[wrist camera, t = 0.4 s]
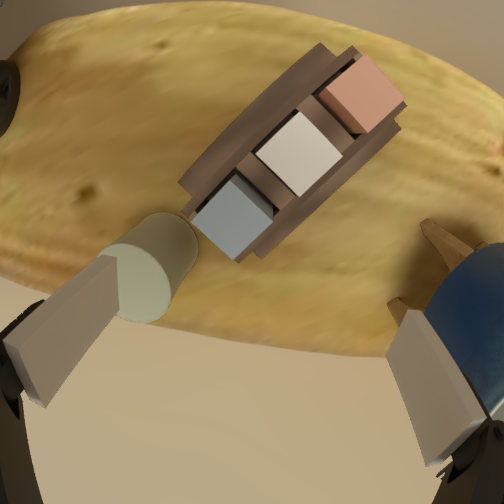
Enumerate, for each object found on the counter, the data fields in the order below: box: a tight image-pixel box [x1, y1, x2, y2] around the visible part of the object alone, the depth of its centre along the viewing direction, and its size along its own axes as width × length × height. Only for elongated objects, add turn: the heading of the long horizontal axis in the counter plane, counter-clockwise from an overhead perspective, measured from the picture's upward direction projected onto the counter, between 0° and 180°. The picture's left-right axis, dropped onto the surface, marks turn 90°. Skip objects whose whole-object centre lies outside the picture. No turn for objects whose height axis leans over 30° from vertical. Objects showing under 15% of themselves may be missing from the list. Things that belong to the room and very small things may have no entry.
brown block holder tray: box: [178, 43, 407, 264], centre depth 29 cm, size 14×24×7 cm, turn 136°
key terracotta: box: [315, 54, 405, 134], centre depth 23 cm, size 5×5×6 cm
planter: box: [387, 219, 504, 422], centre depth 25 cm, size 19×19×26 cm
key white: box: [256, 112, 343, 197], centre depth 25 cm, size 5×5×6 cm
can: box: [96, 212, 198, 323], centre depth 32 cm, size 9×9×12 cm
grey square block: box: [191, 171, 273, 260], centre depth 28 cm, size 5×5×6 cm
